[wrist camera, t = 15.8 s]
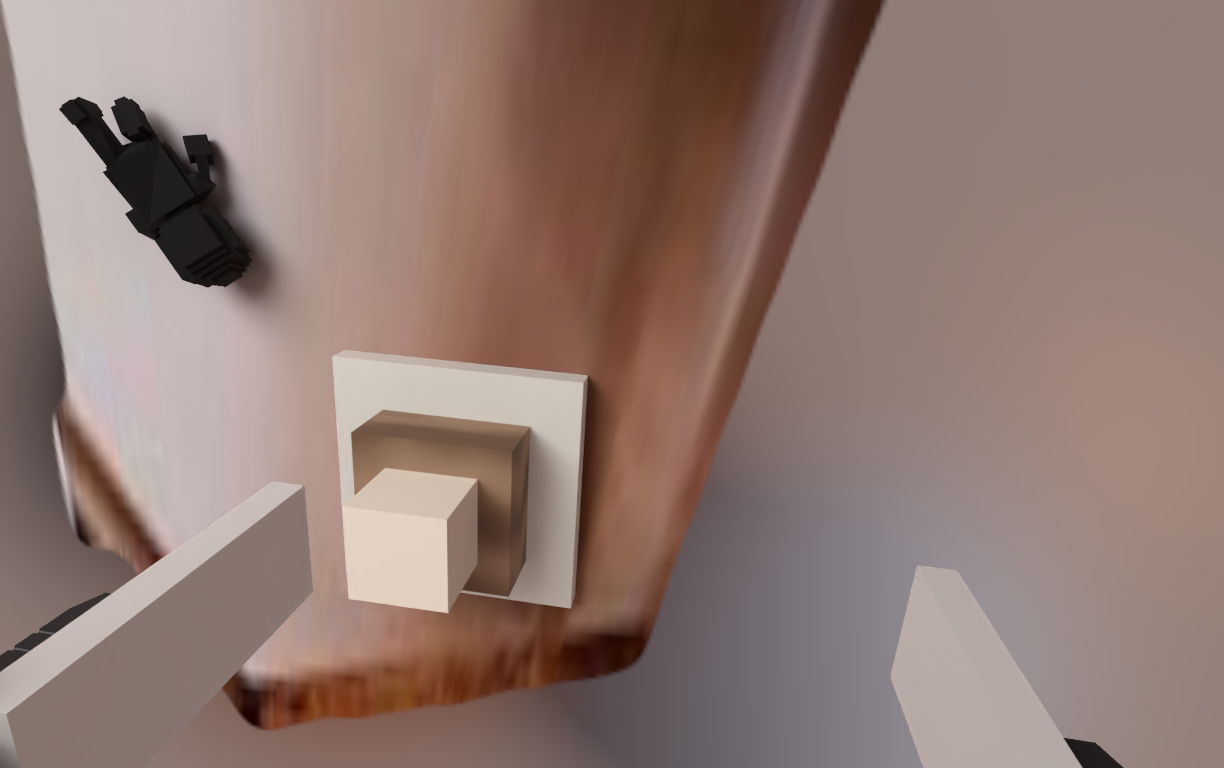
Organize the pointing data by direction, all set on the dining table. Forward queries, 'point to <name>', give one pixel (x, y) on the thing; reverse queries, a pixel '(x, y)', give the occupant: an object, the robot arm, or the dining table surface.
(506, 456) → the walnut brick
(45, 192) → the dining table surface
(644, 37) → the dining table surface
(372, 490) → the cream brick
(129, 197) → the toy
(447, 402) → the plinth
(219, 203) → the dining table surface
